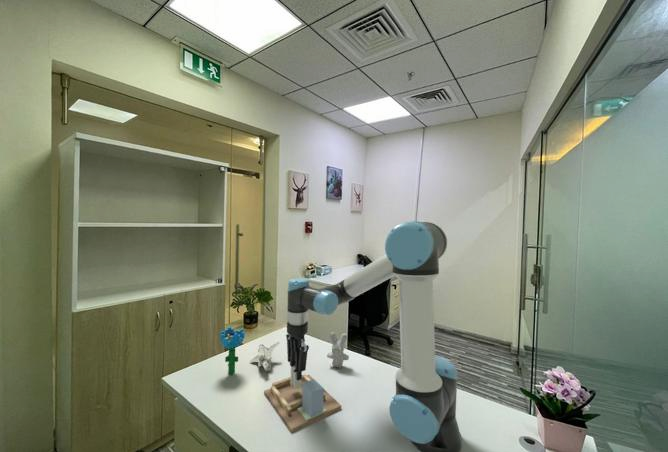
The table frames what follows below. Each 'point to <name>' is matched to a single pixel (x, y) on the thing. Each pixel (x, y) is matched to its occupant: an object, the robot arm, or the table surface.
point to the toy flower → (231, 345)
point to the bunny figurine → (338, 350)
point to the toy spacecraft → (264, 356)
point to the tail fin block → (312, 397)
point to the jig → (296, 404)
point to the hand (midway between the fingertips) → (295, 385)
